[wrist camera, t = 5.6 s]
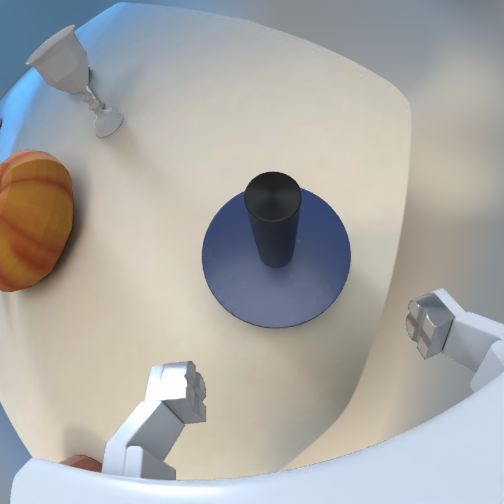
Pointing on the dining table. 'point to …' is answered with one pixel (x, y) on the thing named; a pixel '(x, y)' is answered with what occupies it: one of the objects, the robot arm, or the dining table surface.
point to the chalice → (72, 75)
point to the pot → (83, 463)
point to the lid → (276, 253)
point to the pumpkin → (32, 217)
